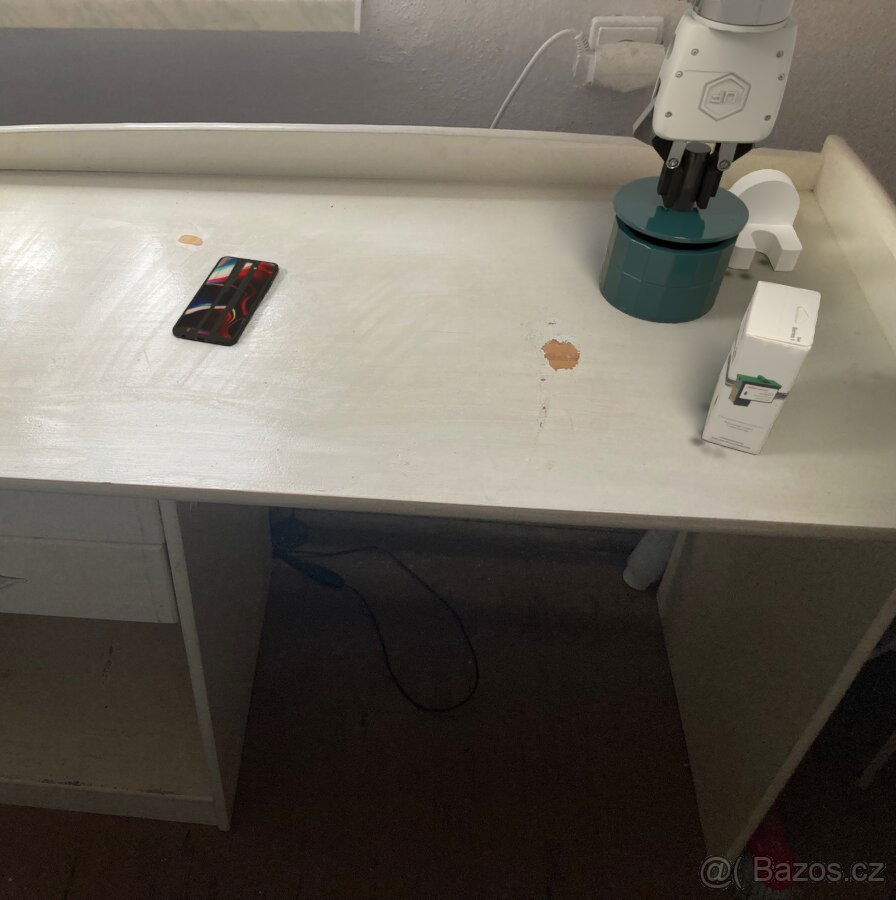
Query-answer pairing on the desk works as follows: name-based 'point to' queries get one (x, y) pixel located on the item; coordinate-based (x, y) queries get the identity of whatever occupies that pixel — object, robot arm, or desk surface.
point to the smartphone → (226, 300)
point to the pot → (662, 275)
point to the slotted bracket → (767, 220)
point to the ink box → (762, 366)
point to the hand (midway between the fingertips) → (683, 200)
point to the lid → (682, 205)
